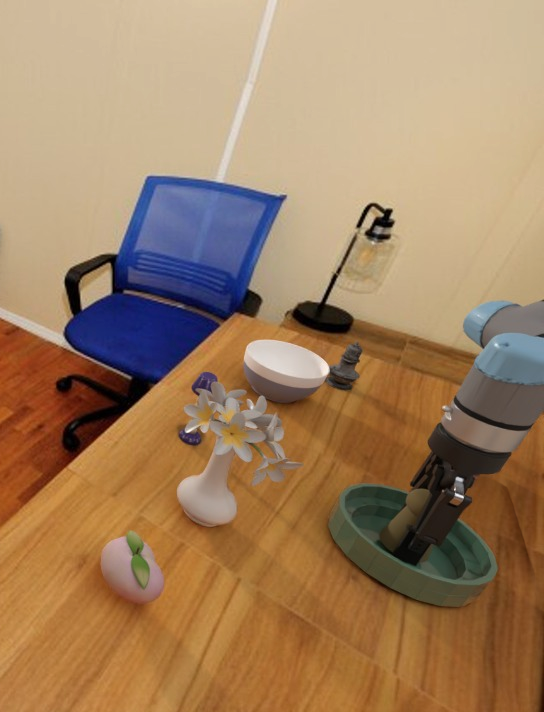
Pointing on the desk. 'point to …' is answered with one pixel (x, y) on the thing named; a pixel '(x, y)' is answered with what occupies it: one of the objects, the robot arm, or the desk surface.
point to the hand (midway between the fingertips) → (402, 544)
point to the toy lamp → (200, 383)
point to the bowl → (283, 370)
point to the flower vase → (229, 452)
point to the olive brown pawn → (406, 521)
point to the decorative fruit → (132, 569)
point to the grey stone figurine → (345, 368)
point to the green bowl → (421, 582)
